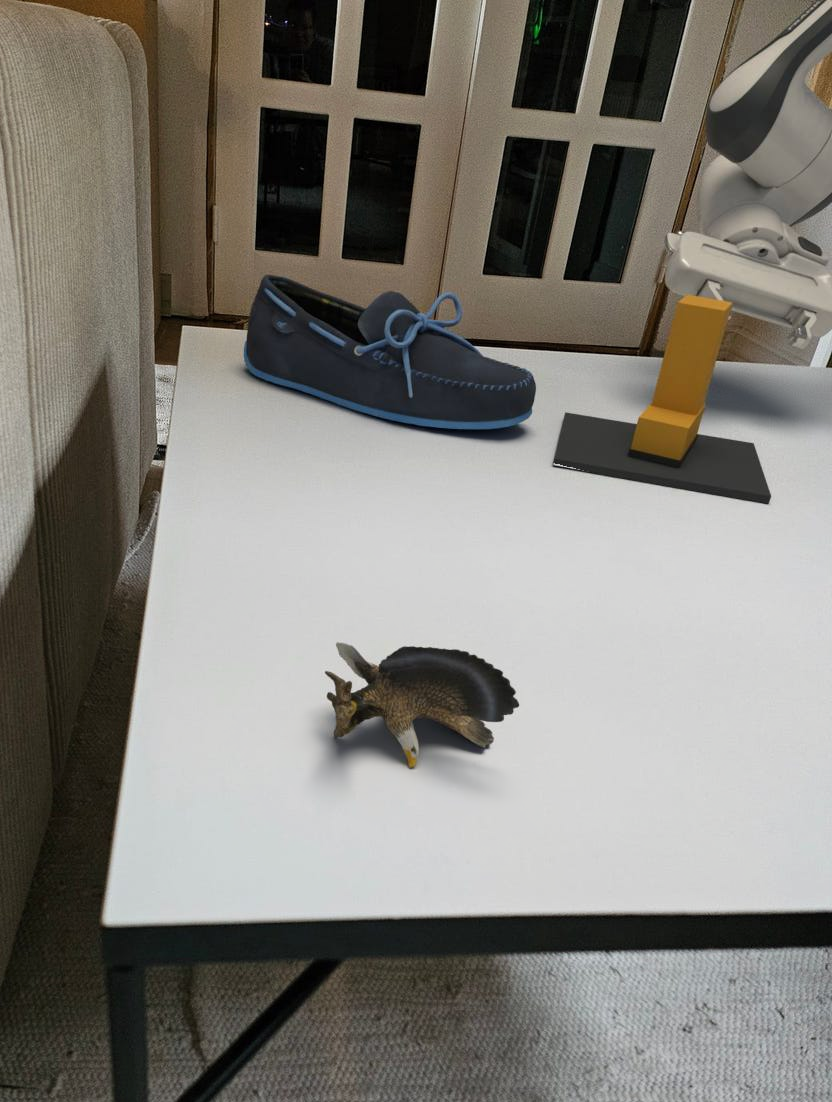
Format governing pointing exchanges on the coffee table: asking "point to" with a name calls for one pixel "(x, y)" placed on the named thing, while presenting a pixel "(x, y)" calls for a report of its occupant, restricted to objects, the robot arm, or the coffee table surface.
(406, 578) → the coffee table surface
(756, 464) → the shoe mat
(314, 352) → the moccasin
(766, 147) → the robot arm
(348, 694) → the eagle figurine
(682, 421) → the boot
